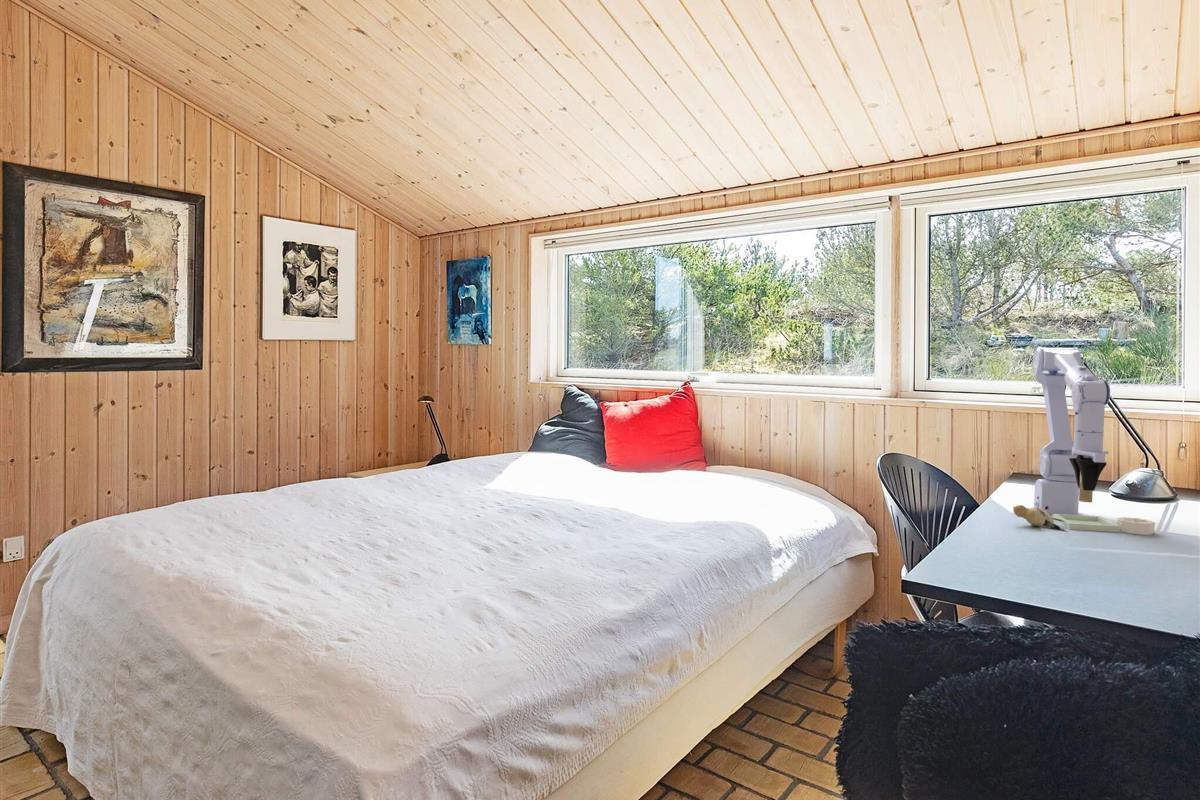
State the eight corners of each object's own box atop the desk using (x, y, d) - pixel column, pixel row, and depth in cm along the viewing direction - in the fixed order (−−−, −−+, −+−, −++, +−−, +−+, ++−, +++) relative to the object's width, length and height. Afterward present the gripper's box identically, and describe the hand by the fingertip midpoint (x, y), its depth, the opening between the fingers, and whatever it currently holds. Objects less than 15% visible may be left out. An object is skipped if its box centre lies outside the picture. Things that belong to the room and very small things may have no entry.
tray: (1068, 531, 168) (1069, 523, 168) (1052, 521, 179) (1053, 513, 179) (1118, 534, 166) (1119, 526, 166) (1099, 523, 176) (1099, 516, 176)
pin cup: (1125, 535, 164) (1125, 522, 164) (1113, 529, 171) (1113, 516, 170) (1158, 537, 163) (1158, 524, 163) (1144, 531, 169) (1145, 518, 169)
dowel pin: (1081, 502, 171) (1083, 463, 171) (1077, 500, 174) (1078, 462, 173) (1093, 502, 170) (1095, 464, 170) (1089, 500, 173) (1091, 462, 172)
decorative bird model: (1052, 508, 177) (1012, 497, 177) (1084, 528, 164) (1041, 516, 164) (1045, 524, 178) (1005, 513, 178) (1076, 545, 165) (1034, 533, 165)
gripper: (1121, 435, 163) (1118, 495, 164) (1095, 429, 177) (1093, 485, 178) (1085, 434, 165) (1083, 493, 166) (1063, 428, 179) (1060, 483, 180)
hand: (1086, 489), depth 172 cm, fingers closed on dowel pin, 3 cm apart
